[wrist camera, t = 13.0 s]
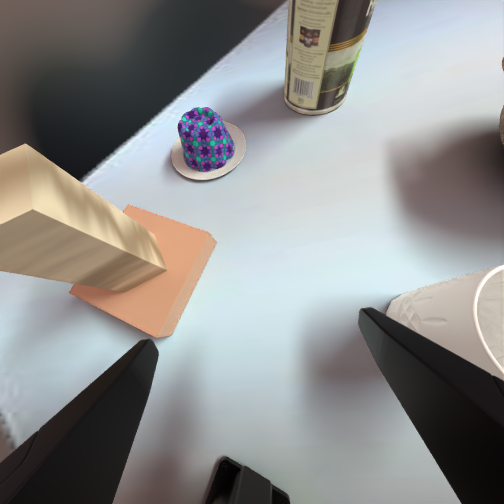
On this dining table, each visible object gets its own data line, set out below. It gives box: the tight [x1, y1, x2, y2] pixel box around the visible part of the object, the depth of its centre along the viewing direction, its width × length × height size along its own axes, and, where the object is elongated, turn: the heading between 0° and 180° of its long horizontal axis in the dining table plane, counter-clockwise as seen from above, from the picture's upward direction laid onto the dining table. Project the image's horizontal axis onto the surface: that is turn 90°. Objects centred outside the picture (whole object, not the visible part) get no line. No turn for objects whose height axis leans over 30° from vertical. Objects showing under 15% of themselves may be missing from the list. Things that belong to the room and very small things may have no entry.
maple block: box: [0, 144, 167, 292], centre depth 16 cm, size 5×5×12 cm
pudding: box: [171, 107, 246, 180], centre depth 28 cm, size 12×12×5 cm
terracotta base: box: [69, 205, 217, 338], centre depth 23 cm, size 12×12×3 cm
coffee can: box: [283, 0, 377, 115], centre depth 25 cm, size 10×10×14 cm
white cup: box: [386, 265, 504, 380], centre depth 15 cm, size 8×8×10 cm
